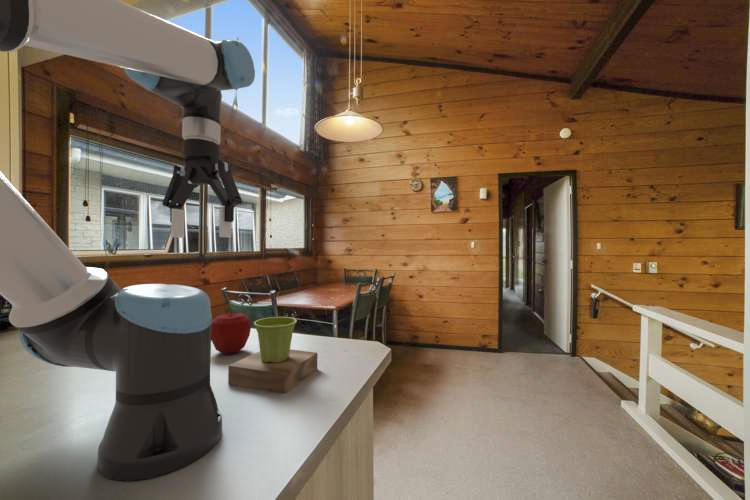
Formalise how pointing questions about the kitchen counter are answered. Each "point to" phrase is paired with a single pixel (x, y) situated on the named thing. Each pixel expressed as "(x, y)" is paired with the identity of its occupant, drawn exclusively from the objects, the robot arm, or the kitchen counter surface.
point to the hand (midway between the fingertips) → (200, 237)
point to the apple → (230, 332)
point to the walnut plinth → (272, 371)
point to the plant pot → (275, 337)
